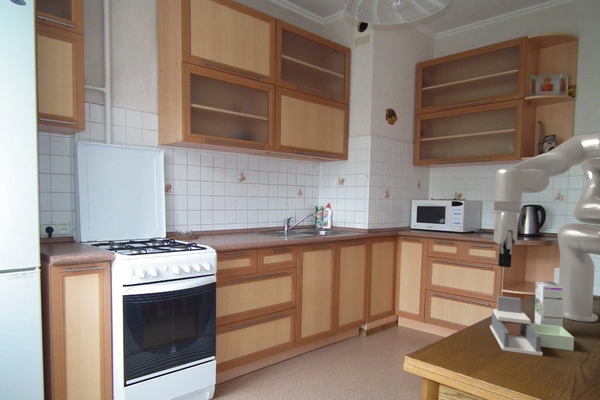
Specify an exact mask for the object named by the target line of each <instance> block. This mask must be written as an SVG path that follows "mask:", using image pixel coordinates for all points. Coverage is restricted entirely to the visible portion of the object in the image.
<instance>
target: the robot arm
mask: <svg viewBox="0 0 600 400" xmlns="http://www.w3.org/2000/svg"><path fill="white" fill-rule="evenodd" d="M579 165H580V167H581V170H582V172H583V175H584V177H585V184H584V188H583V189H582V190H583V191H582V193H581V195H580V196H579V199H578V201H577V203H576V206H575V208H574V212H573V216H574V218H575V220H577V221H578V222H581V223H575V222H573V223H567V224H564V225H563V226H561V227H560V228H559V229H558V232H557V243H558V250H559V260H560V261H559V268H560V275H559V285H561V286H563V287H564V291H563V319H568V320H573V321H577V322H587V323H588V322H589V323H593V322H597V321H599V316H598V315H597V314H595V313H593V308H594V307H593V306H594V305H593V304H594V287H595V286H594V281H595V264H594V261H593V259H592V258H591V256H590V255H597V256H600V132H596V133H590V134H588V133H587V134H579V135H575V136H573V137H571V138H569V139H567V140H565V141H564V142H562V143H561V144H559V145H557V146H555V147H554V148H553V149H551V150H549V151H547V152H544V153H542V154H539V155H536V156H534V157H531V158H527V159H525V160H523V161H520V162H519V163H516V164H515V165H513V166H511V167H503V168H499V169H497V170H496V172H495V184H494V199H493V213H496V214H495V220H494V229H493V239H492V240H493V241H494V243H496V244H498V245H499V246H498V249H499V251H498V252H499V253H498V261H497V262H498V266H499V267H502V268H511V267H512V252H513V246H515V245H517V241H518V227H519V226H518V223H519V222H518V221H519V220H518V214H522V207H523V206H522V205H523V204H522V202H523V201H522V200H523V194H538V193H541V192H543V191H545V190H547V188H548V186H549V185H550V177H555V176H560V175H563V174H566V173H568V172H569V171H571V170H572V169H574V168H575V167H576V166H579Z"/></svg>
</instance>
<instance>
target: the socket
mask: <svg viewBox="0 0 600 400" xmlns="http://www.w3.org/2000/svg"><path fill="white" fill-rule="evenodd" d="M530 325H531V326H532V327H533V329H534V330H535V331H536V332H537V333H538V334H539V335H540V336H541V347H542V348H550V349H558V350H564V351H571V352H572V351H574V350H575V349H574V347H575V346H574V345H575V344H574V343H575V337H574V336H573V335H572V334H571V333H570V332H568V330H566V329H565V328H564V326H563V327H561V326H553V325H544V324H536V323H534V322H531V324H530Z"/></svg>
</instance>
